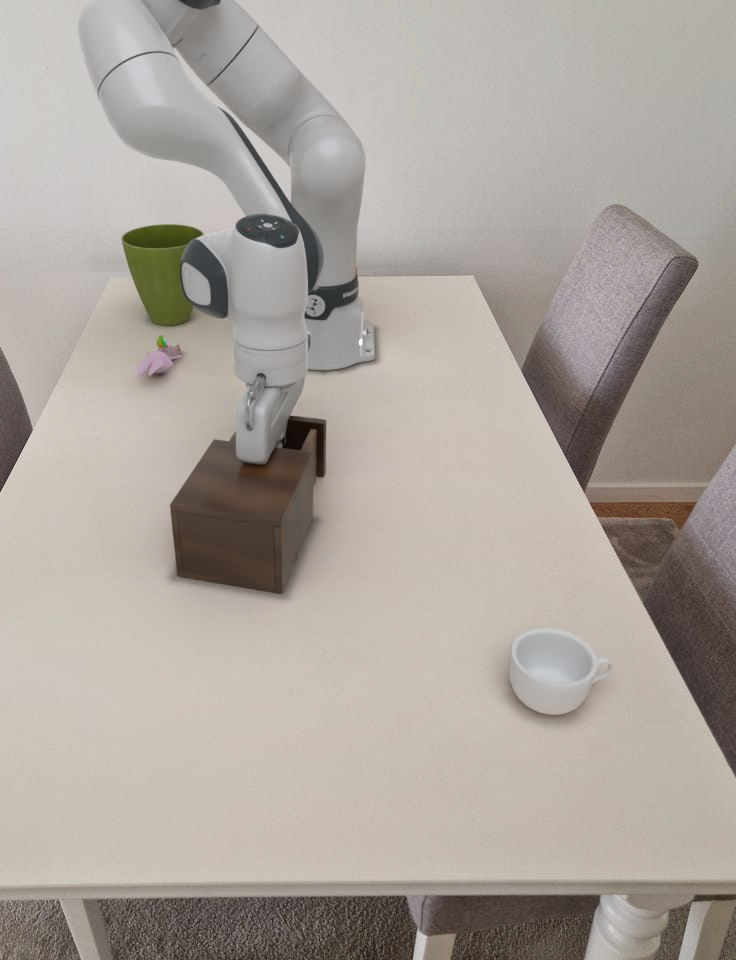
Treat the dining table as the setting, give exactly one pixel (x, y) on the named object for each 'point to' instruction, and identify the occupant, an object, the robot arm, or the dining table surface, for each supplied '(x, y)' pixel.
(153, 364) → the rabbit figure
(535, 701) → the teacup
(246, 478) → the cabinet
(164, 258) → the flower pot
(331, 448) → the dining table surface
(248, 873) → the dining table surface
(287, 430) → the drawer
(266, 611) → the dining table surface
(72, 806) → the dining table surface
